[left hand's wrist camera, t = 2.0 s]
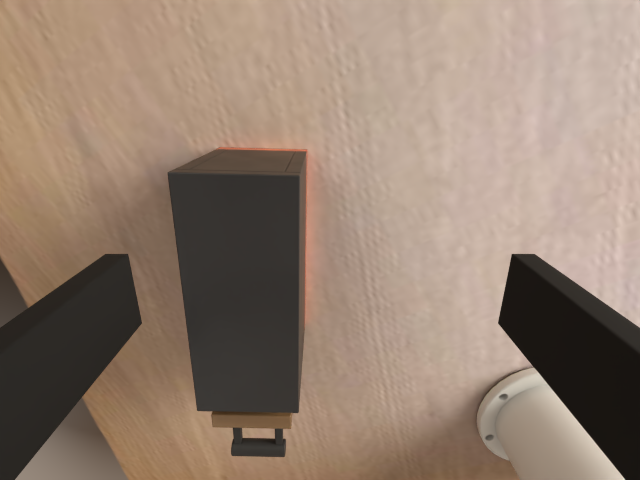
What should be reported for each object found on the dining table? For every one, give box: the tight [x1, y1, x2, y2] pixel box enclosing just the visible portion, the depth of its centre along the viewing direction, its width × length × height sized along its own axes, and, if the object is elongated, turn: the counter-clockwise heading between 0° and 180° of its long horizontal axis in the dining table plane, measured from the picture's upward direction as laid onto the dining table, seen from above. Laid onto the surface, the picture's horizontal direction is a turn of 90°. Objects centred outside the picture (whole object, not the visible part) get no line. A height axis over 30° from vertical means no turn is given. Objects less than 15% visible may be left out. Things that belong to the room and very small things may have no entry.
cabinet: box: [168, 147, 307, 413], centre depth 27 cm, size 16×7×11 cm, turn 179°
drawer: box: [211, 411, 292, 457], centre depth 29 cm, size 21×6×9 cm, turn 179°
